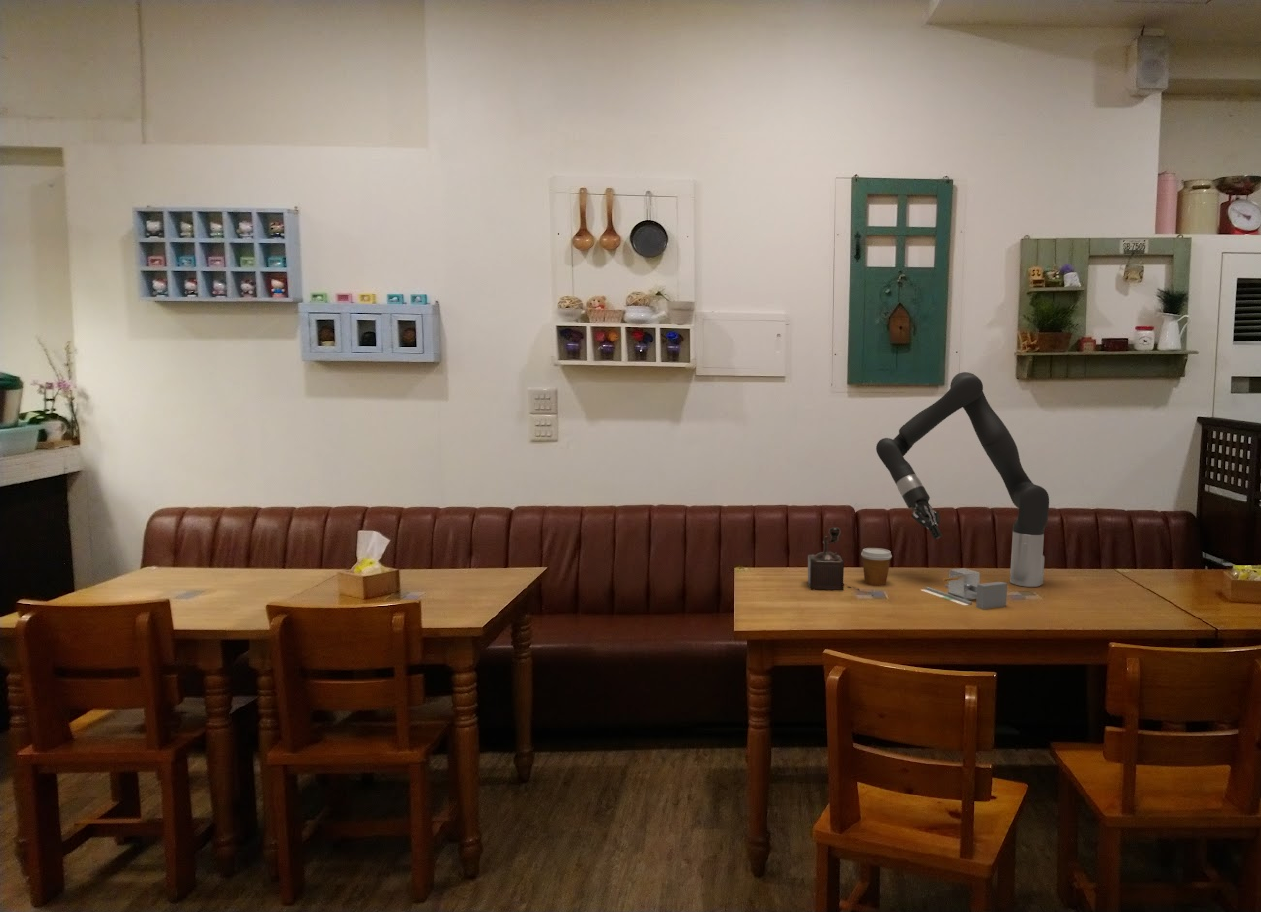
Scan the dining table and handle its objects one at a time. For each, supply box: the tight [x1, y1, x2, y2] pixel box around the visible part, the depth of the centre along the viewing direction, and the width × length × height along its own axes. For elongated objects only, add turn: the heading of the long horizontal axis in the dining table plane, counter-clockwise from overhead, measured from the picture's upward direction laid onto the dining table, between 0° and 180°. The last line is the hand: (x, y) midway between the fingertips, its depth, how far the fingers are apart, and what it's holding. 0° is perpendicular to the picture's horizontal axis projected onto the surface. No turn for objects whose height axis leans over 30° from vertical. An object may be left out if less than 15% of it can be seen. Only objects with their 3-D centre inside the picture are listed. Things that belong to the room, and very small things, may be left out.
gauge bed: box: [921, 581, 1008, 610], centre depth 242 cm, size 14×24×8 cm, turn 23°
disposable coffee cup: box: [860, 547, 893, 586], centre depth 258 cm, size 10×10×12 cm
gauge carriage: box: [942, 567, 981, 601], centre depth 239 cm, size 11×11×8 cm
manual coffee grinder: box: [807, 526, 845, 591], centre depth 261 cm, size 16×11×18 cm
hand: (938, 537), depth 254 cm, fingers closed
